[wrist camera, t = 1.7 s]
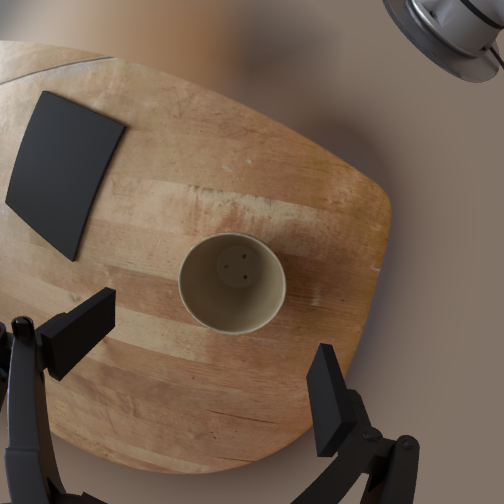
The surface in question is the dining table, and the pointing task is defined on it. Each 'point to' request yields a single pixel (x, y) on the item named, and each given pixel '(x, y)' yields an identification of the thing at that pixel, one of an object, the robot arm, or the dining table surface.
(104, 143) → the mat
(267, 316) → the flower pot
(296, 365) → the dining table surface
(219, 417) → the dining table surface
